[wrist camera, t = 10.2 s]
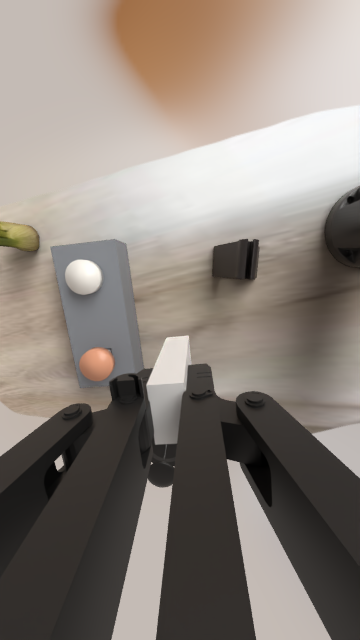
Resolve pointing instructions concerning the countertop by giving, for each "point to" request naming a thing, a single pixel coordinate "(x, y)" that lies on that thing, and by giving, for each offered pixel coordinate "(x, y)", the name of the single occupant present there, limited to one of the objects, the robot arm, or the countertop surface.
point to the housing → (101, 308)
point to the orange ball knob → (97, 363)
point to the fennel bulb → (18, 236)
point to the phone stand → (236, 259)
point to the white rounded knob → (83, 277)
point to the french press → (162, 464)
